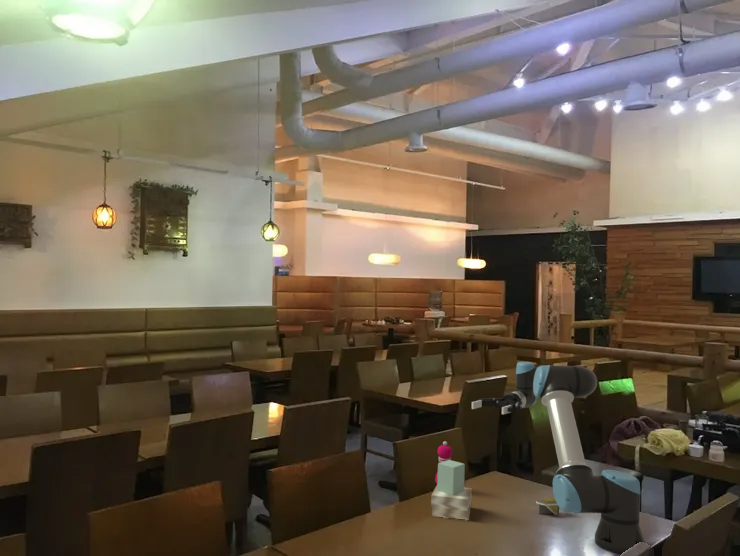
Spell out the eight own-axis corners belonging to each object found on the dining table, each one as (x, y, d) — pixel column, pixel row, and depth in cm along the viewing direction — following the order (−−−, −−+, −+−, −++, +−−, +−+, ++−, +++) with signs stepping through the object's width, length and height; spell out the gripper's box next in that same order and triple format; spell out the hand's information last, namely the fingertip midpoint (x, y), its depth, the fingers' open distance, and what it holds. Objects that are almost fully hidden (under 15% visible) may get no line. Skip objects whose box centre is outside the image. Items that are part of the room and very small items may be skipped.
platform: (581, 520, 227) (581, 502, 227) (534, 523, 223) (535, 504, 223) (564, 508, 239) (564, 491, 239) (520, 510, 235) (520, 493, 235)
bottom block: (470, 509, 236) (470, 498, 236) (468, 521, 223) (468, 510, 223) (435, 505, 238) (435, 495, 238) (432, 518, 226) (432, 506, 226)
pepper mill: (432, 488, 257) (433, 439, 257) (448, 487, 259) (449, 438, 259) (439, 494, 250) (440, 444, 250) (455, 493, 252) (457, 443, 252)
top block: (471, 498, 235) (471, 488, 235) (467, 510, 223) (467, 499, 223) (436, 494, 239) (437, 484, 239) (430, 506, 226) (431, 495, 226)
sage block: (448, 486, 236) (449, 459, 236) (464, 491, 232) (464, 463, 232) (437, 490, 231) (437, 463, 231) (452, 495, 227) (453, 467, 227)
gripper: (540, 415, 256) (515, 423, 240) (487, 405, 273) (460, 412, 257) (541, 396, 256) (516, 403, 240) (487, 388, 273) (460, 394, 257)
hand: (487, 408), depth 248 cm, fingers open, 13 cm apart
